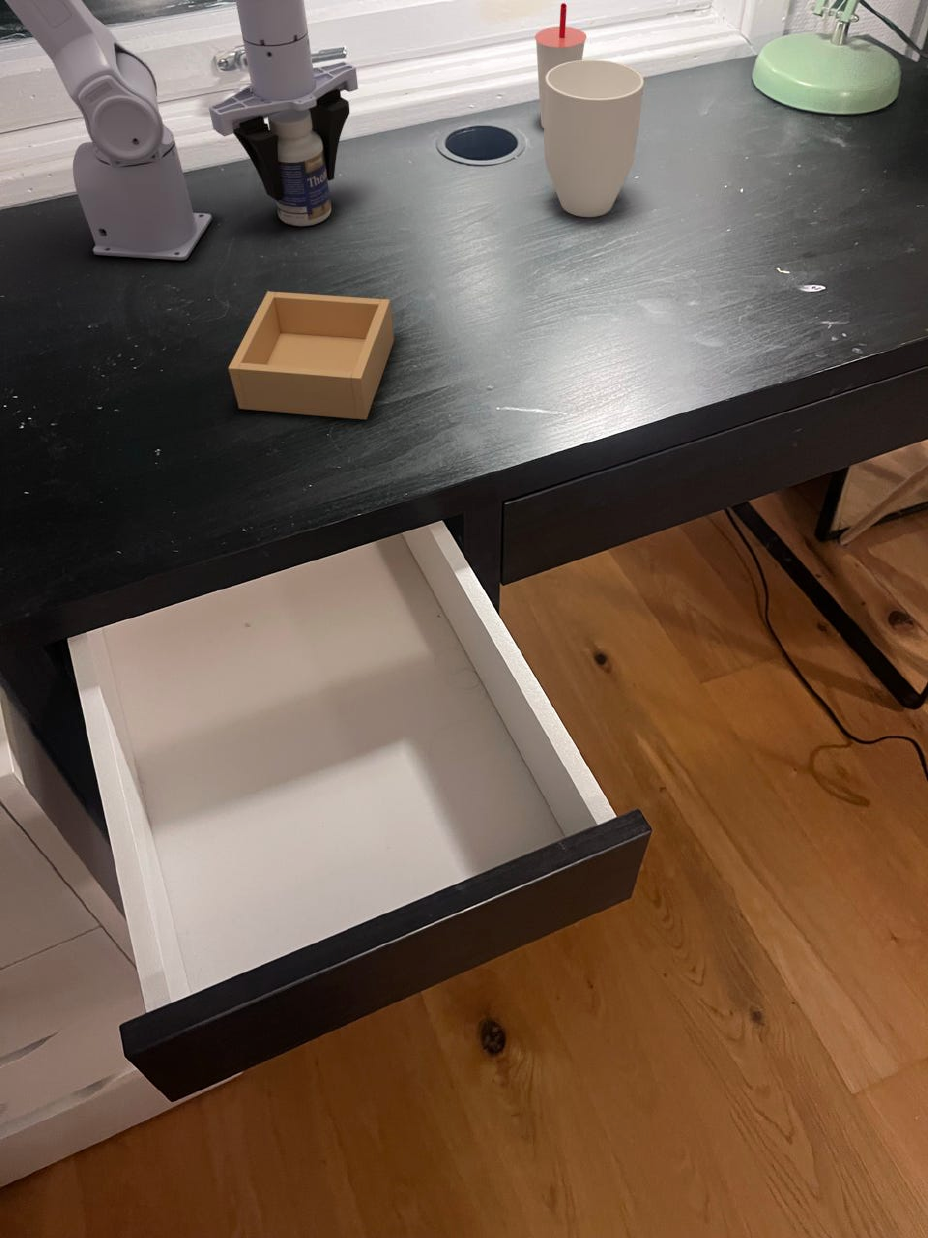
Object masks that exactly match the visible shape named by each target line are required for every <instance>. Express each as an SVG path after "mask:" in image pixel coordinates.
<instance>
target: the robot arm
mask: <svg viewBox="0 0 928 1238" xmlns="http://www.w3.org/2000/svg"><path fill="white" fill-rule="evenodd" d="M4 1H5V2H6V4H7V5H8V7H9V8H10V9H11V10H12V12H13V13H14V14H15V16H16V17H17V18H18V20H19V21H21V23H22V25H23V26H24V27H25V28H26V30H27V31H28V32H29V33H30V34H31V36H32V37H33V38H34V39H35V41H36V42H37V43H38V45H39V46H40V47H41V48H42V50H43V51H44V52H45V53H46V55H47V56H48V57H49V59H50V60H51V62H52V63H53V66H54V68H55V69H56V71H57V73H58V75H59V78H60V81H61V82H62V84H63V86H64V88H65V90H66V92H67V94H68V96H69V98H70V99H71V100H72V101H73V103H74V104H75V106H77V108H78V109H79V111H80V113H81V114H82V116H83V117H82V118H83V120H84V124H85V127H86V132H87V134H88V137H89V139H90V140H91V141H87V142H83V143H81V144H80V145H79V146H78V147H77V148H76V150H75V153H74V157H73V160H72V161H73V162H72V174H73V175H72V176H73V177H72V178H73V183H74V187H75V190H76V194H77V196H78V199H79V203H80V205H81V207H82V210H83V213H84V216H85V219H86V222H87V225H88V227H89V229H90V233H91V236H92V238H93V242H94V246H93V249H92V252H93V254H94V255H96V256H107V257H123V258H125V257H126V258H137V259H153V260H154V259H155V260H168V261H185V260H187V259H188V258H189V256H190V255H191V253H193V250H194V249H195V247H196V246H197V243H198V242H199V241H200V239H201V238H202V236H203V234H204V233H205V231H206V229H208V228H207V227H209V225H210V224H211V222H212V219H213V218H212V215H211V214H210V213H204V212H203V213H202V212H194V210H193V205H192V202H191V197H190V193H189V191H188V186H187V183H186V179H185V176H184V172H183V169H182V163H181V161H180V160H181V159H180V156H179V153H178V149H177V145H176V141H175V136H174V133H173V132H172V130H171V128H169V127H168V126H167V125H165V124H164V121H163V117H162V116H161V113H160V109H159V104H158V98H157V97H158V86H157V82H156V78H155V74H154V73H153V71H152V69H151V68H150V66H149V65H148V63H147V62H146V61H145V60H144V59H143V58H141V57H140V56H139V55H138V54H136V53H135V52H133V51H131V50H130V49H128V48H126V47H125V46H124V45H123V44H122V43H120V42H119V41H118V40H117V38H116V37H115V36H114V34H113V33H112V31H111V29H109V27H108V26H107V25H105V24H104V23H102V22H101V21H100V20H99V19H98V18H96V17H95V16H94V15H93V14H92V13H91V10H89V8H88V7H87V6H86V4H85V3H84V1H83V0H4ZM235 5H236V11H237V16H238V21H239V26H240V32H241V36H242V37H241V38H242V43H243V48H244V54H245V58H246V63H247V69H248V73H249V74H248V75H249V80H250V83H251V84H250V85H248V86H247V87H245V88H242V89H241V90H240V91H238V92H237V93H234V94H233V95H231V96H230V97H228V98H227V99H224V100H222V101H221V102H219V103H216V104H214V105H211V106H209V107H208V111H209V116H210V121H211V125H212V129H213V130H214V131H215V132H217V133H218V134H219V135H221V136H223V137H227V136H231V135H234V136H235V138H236V140H237V141H238V142H239V143H240V145H241V146H242V147H243V149H244V151H245V152H246V154H247V155H248V157H249V159H250V160H251V162H252V164H253V166H254V168H255V169H256V171H257V174H258V176H259V178H260V180H261V183H262V185H263V188H264V190H265V194H266V195H267V196H269V197H270V198H272V199H273V200H274V201H275V200H276V201H279V200H281V199H283V188H282V183H281V178H280V173H279V166H278V137H279V136H278V135H276V134H275V133H273V132H272V131H270V130H269V123H266V122H265V119H268V117H270V116H273V115H276V114H279V113H281V112H284V111H287V110H292V109H295V110H297V111H304V110H307V109H308V110H309V111H310V114H311V120H312V130H313V131H314V132H316V133H317V134H318V135H319V136H320V138H321V140H322V144H323V151H324V158H325V166H326V173H327V180H328V182H329V181H332V180H334V179H335V174H336V173H335V172H336V163H337V155H338V150H339V144H340V140H341V137H342V133H343V130H344V127H345V124H346V121H347V119H348V117H349V115H350V102H349V100H347V99H345V98H344V97H342V93H341V92H343V91H346V92H349V93H350V92H354V91H356V90H359V84H358V75H357V68H356V66H353V65H352V64H350V63H348V62H347V61H344V60H343V61H339V62H337V63H332V64H328V65H323V66H316V67H314V64H313V58H312V50H311V43H310V34H309V29H308V21H307V14H306V13H307V12H306V6H305V0H235ZM276 201H275V202H276Z"/></svg>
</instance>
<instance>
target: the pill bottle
mask: <svg viewBox="0 0 928 1238" xmlns="http://www.w3.org/2000/svg"><path fill="white" fill-rule="evenodd" d="M267 124H268V127H269V130H270V131H272V132H273V133H275V134H276V135H278V136H279V137H278V166H279V173H280V178H281V183H282V188H283V199H281V200H279V201H276V200H274V201H275V205H276V210H277V215H278V217H279V219H280V220H281V221H282V222H283V223H285V224H287V225H291V226H294V227H295V226H296V227H308V226H314V225H317V224H319V223H322V222H323V221H324V222H325V220H326V219H328V217H329V216H330V214H331V212H332V204H331V195H330V189H329V181H328V180H327V173H326V166H325V158H324V151H323V144H322V140H321V138H320V136H319V135H318V134H317V133H316V132H314V131H313V130H312V120H311V114H310V111H309V110H308V109H307V110H304V111H297V110H295V109H292V110H287V111H284V112H281V113H279V114H276V115H273V116H270V117H267Z"/></svg>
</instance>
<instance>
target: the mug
mask: <svg viewBox="0 0 928 1238" xmlns="http://www.w3.org/2000/svg"><path fill="white" fill-rule="evenodd" d="M644 81H645V80H644V77H643V76H642V74H641V73H639V72H638V71H637V70H636V69H634V67H633V68H632V67H630V66H628V65H625V64H623V63H620V62H615V61H611V60H603V59H602V60H601V59H582V60H578V61H571V62H567V63H563V64H560V65H558V66H556V67H554V68H552V69H551V70H550V71H549V72H548V73H547V75H546V89H545V120H544V128H543V134H544V136H543V145H544V147H543V150H544V159H545V165H546V169H547V171H548V174H549V177H550V179H551V182H552V184H553V187H554V190H555V192H556V196H557V198H558V201H559V203H560V206H561V207H562V209H563V210H564V211H565V212H567V213H568V214H570V215H574V216H577V217H581V218H596V217H599V216H600V217H601V216H603V215H606V214H607V213H608V212H610V211H611V210H612V207H613V205H614V204H615V201H616V199H617V197H618V195H619V193H620V191H621V190H622V187H623V186H624V183H626V182H625V181H626V180H627V178H628V175H630V171H631V170H632V166H633V163H634V159H635V154H636V149H637V143H638V136H639V135H638V134H639V128H640V127H639V126H640V117H641V110H642V109H641V108H642V99H643V91H644V84H645V83H644Z"/></svg>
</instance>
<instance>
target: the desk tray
mask: <svg viewBox="0 0 928 1238" xmlns="http://www.w3.org/2000/svg"><path fill="white" fill-rule="evenodd" d="M393 324H394V323H393V314H392V306H391V299H386V298H373V297H372V298H369V297H358V296H357V297H355V296H344V295H343V296H341V295H325V294H312V293H311V294H310V293H300V292H299V293H298V292H296V293H295V292H284V291H283V292H282V291H270V290H269V291H267V292H266V294H265V295H264V297H263V299H262V301H261V303H260V305H259V307H258V309H257V311H256V312H255V315H254V317H253V319H252V321H251V323H250V324H249V326H248V328H247V331H246V332H245V334H244V336H243V339H242V340H241V342H240V344H239V346H238V348H237V349H236V352H235V354H234V356H233V358H232V360H231V362H230V363H229V366H228V373H229V376H230V380H231V383H232V387H233V391H234V395H235V399H236V402H237V406H238V409H239V410H249V411H261V412H271V413H284V414H295V415H296V414H297V415H308V416H317V417H318V416H319V417H332V418H342V419H353V420H354V419H355V420H356V419H357V420H365V421H366V420H368V417H369V414H370V411H371V409H372V405H373V402H374V401H375V400H374V399H375V396H376V393H377V391H378V388H379V385H380V382H381V379H382V376H383V375H384V374H383V373H384V370H385V368H386V365H387V362H388V359H389V356H390V354H391V351H392V347H393V345H394V342H395V336H394V325H393Z"/></svg>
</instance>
